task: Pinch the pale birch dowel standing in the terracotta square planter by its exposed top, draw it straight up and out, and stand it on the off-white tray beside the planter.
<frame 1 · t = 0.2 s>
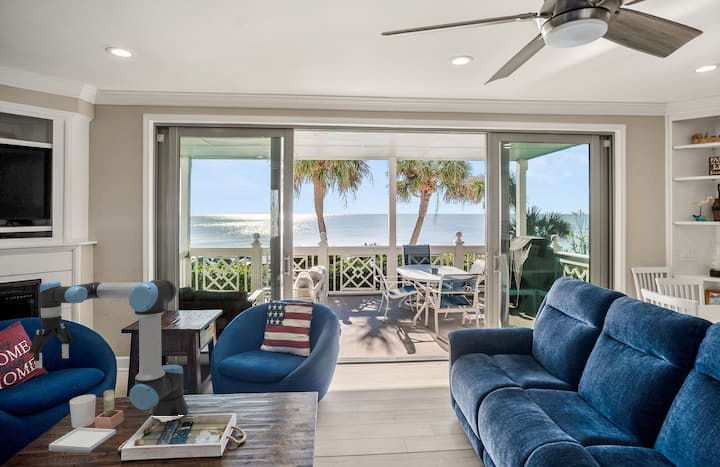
hand: (52, 362, 182), 28 cm above the table, fingers open, 13 cm apart
terracotta square planter: (109, 427, 178), on the table
candle holder: (83, 425, 180), on the table
off-white tray: (83, 442, 165), on the table
birch dowel: (109, 425, 178), point 1 cm above the table, touching terracotta square planter
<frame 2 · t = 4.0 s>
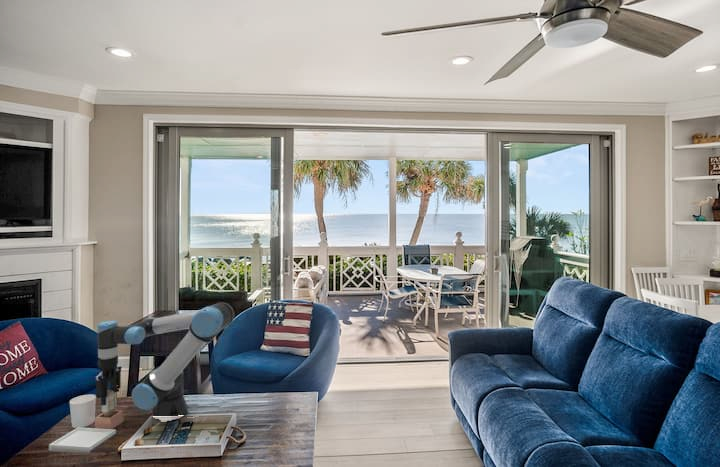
hand: (109, 409, 178), 8 cm above the table, fingers closed on birch dowel, 4 cm apart
birch dowel: (109, 425, 178), point 1 cm above the table, touching gripper, terracotta square planter
everything else where it was.
when the fingers open (10 cm above the table, at t = 12.3 s): birch dowel drops 3 cm, resting on off-white tray.
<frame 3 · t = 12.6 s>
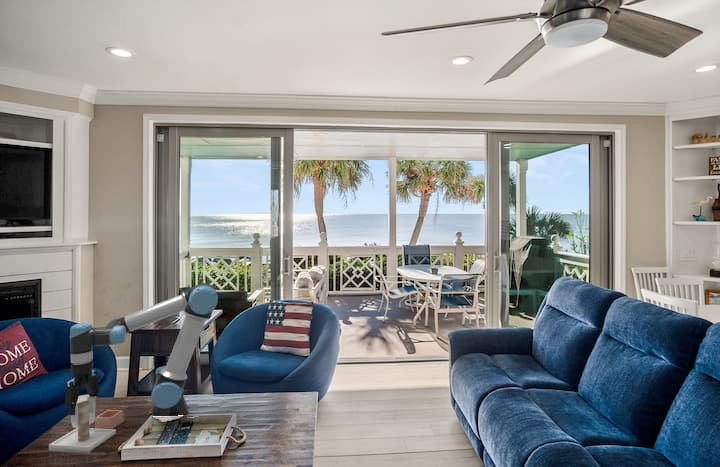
hand: (83, 417, 165), 11 cm above the table, fingers open, 8 cm apart
birch dowel: (83, 439, 165), point 1 cm above the table, touching off-white tray
everything else where it was.
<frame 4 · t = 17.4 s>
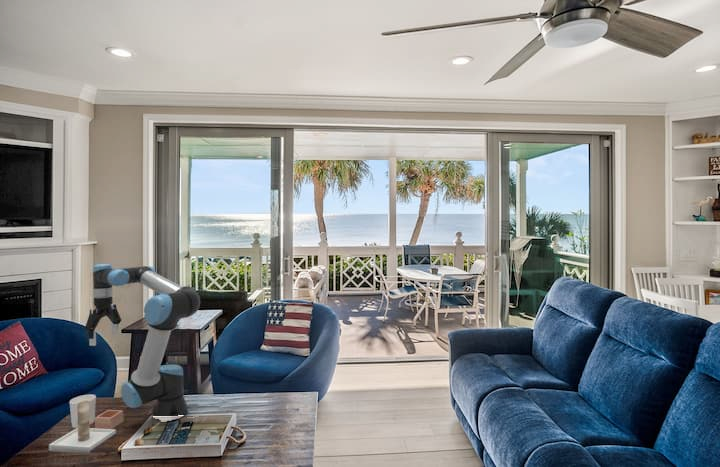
hand: (104, 341, 191), 35 cm above the table, fingers open, 13 cm apart
nothing on the table moved.
at the end: birch dowel inside the target area on the off-white tray (0.2 cm from its centre), point 1.5 cm above the off-white tray's base; the gripper is holding nothing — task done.
